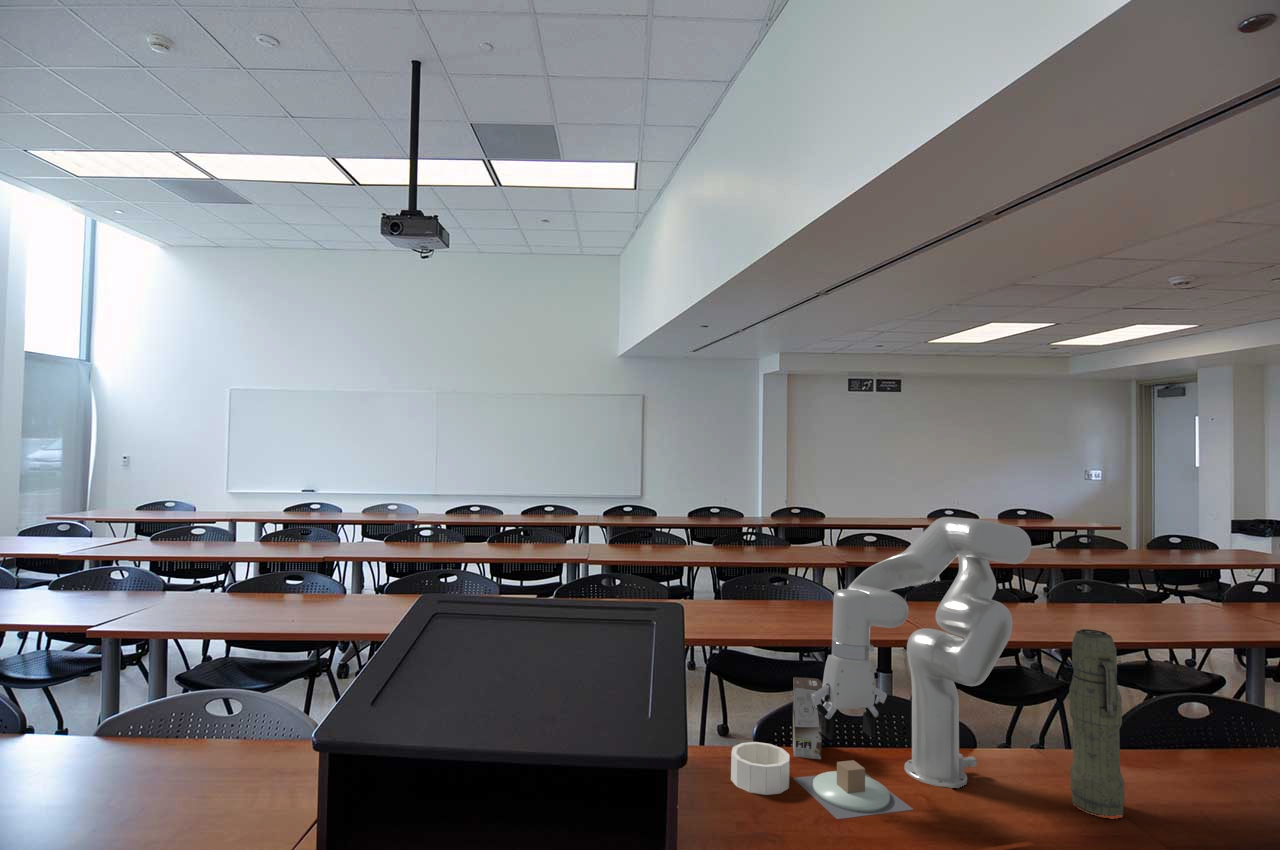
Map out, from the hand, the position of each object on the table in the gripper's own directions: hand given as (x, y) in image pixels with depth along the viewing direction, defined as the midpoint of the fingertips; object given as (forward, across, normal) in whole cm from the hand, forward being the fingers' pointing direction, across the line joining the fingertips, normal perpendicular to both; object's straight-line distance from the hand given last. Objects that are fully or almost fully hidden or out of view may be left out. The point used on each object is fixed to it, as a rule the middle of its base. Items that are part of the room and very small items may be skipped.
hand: (848, 735), depth 134 cm
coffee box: (+12, -3, -21) cm, 25 cm away
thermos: (+11, -48, +15) cm, 51 cm away
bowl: (+12, +15, -9) cm, 22 cm away
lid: (+12, -1, 0) cm, 12 cm away
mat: (+12, -1, 0) cm, 12 cm away
